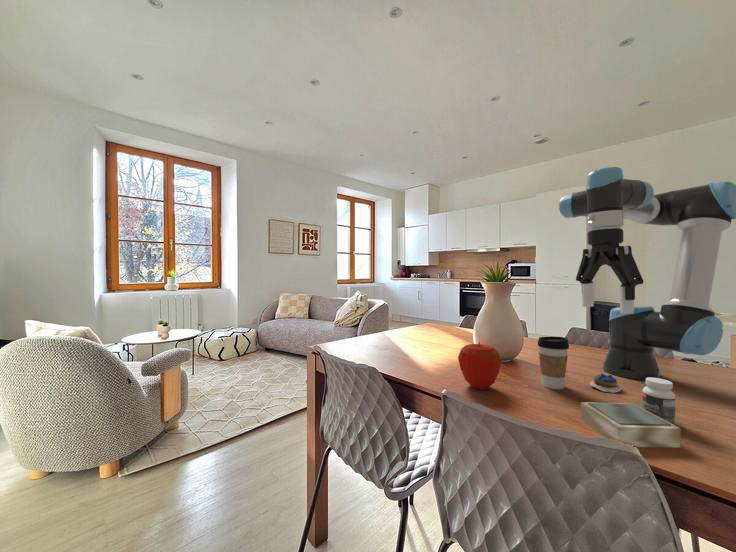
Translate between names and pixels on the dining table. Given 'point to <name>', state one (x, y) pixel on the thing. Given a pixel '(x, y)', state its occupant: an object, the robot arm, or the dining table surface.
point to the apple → (479, 365)
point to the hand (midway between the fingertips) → (605, 309)
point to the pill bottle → (659, 399)
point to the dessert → (605, 383)
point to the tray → (630, 424)
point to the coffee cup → (553, 361)
